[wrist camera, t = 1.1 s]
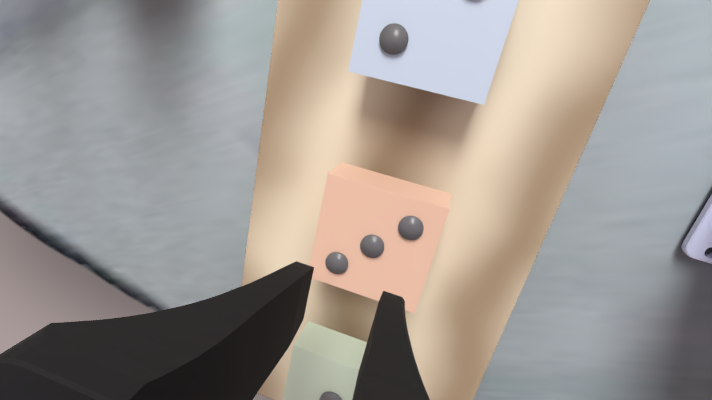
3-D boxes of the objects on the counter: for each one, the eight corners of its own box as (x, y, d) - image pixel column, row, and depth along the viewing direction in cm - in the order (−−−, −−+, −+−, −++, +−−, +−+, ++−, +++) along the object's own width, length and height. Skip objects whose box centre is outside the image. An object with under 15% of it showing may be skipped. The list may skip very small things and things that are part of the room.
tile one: (398, 353, 20) (391, 384, 18) (375, 421, 22) (367, 456, 20) (308, 321, 21) (292, 347, 19) (294, 389, 23) (277, 419, 21)
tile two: (528, -44, 14) (540, -63, 12) (481, 100, 15) (484, 105, 13) (390, -69, 14) (379, -91, 12) (361, 71, 16) (347, 71, 14)
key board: (664, -77, 15) (693, -98, 13) (443, 438, 25) (442, 468, 23) (316, -132, 17) (298, -157, 15) (245, 360, 27) (229, 381, 25)
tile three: (451, 193, 17) (449, 210, 15) (419, 289, 19) (414, 315, 17) (341, 162, 18) (326, 174, 16) (322, 257, 19) (305, 278, 17)
